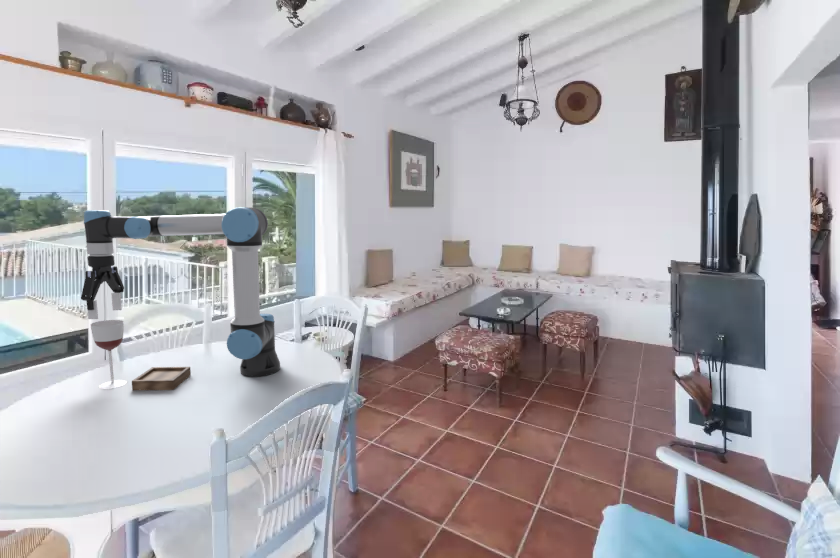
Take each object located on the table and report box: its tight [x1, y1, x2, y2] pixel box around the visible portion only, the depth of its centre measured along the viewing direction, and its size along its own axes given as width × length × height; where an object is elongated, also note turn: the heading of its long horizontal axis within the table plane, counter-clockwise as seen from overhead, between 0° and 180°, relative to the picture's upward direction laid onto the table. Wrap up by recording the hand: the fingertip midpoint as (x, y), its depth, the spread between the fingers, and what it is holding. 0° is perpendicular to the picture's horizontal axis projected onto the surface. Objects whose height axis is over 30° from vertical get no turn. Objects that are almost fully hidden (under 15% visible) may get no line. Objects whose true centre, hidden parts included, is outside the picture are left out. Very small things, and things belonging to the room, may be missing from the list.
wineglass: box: [90, 319, 128, 390], centre depth 158 cm, size 9×10×23 cm
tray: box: [131, 366, 192, 391], centre depth 162 cm, size 14×14×4 cm
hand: (105, 314), depth 155 cm, fingers open, 13 cm apart
